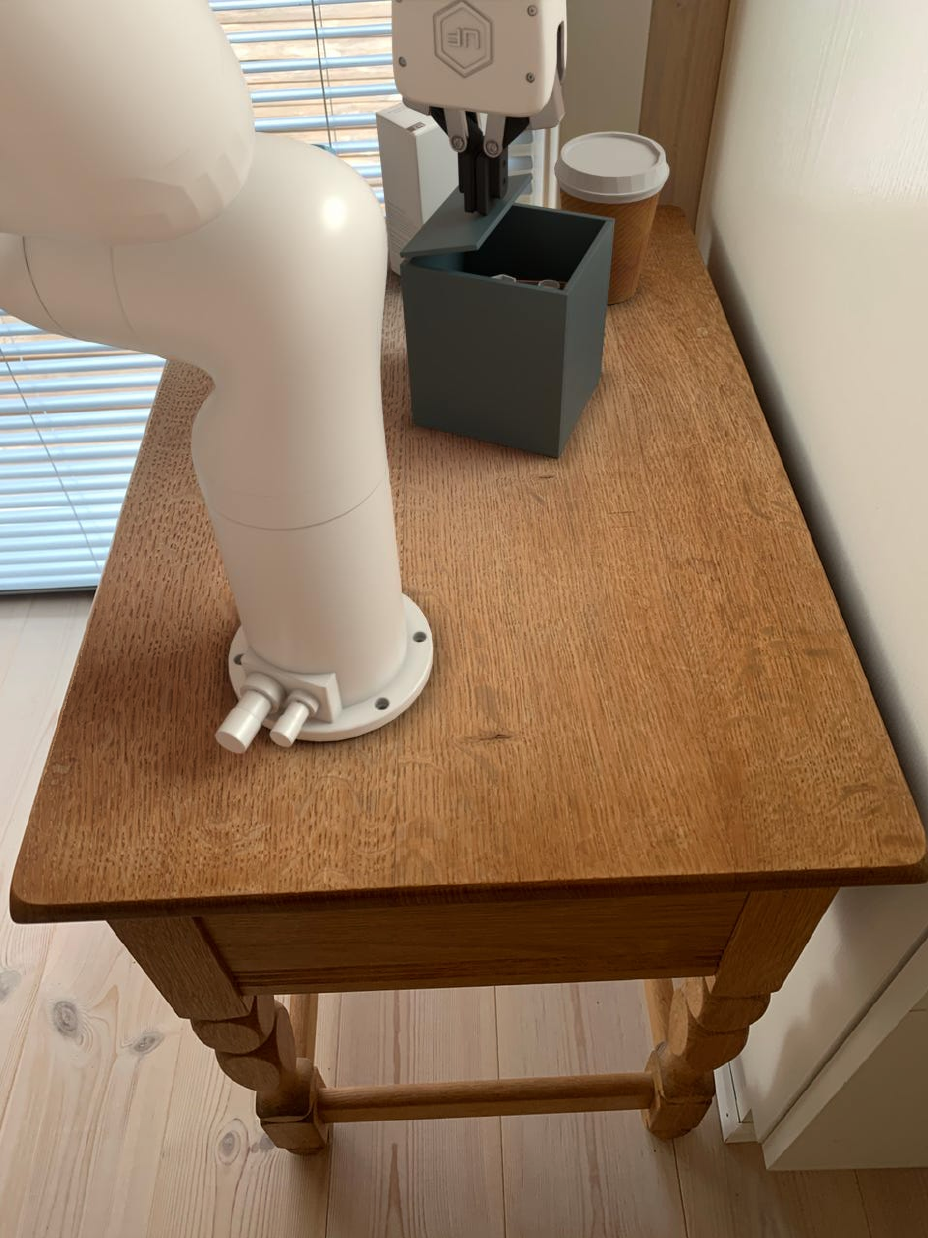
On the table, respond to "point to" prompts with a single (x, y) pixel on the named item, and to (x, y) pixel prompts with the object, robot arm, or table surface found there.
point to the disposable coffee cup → (615, 195)
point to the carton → (510, 329)
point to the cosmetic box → (413, 172)
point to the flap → (461, 223)
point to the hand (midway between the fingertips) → (483, 204)
